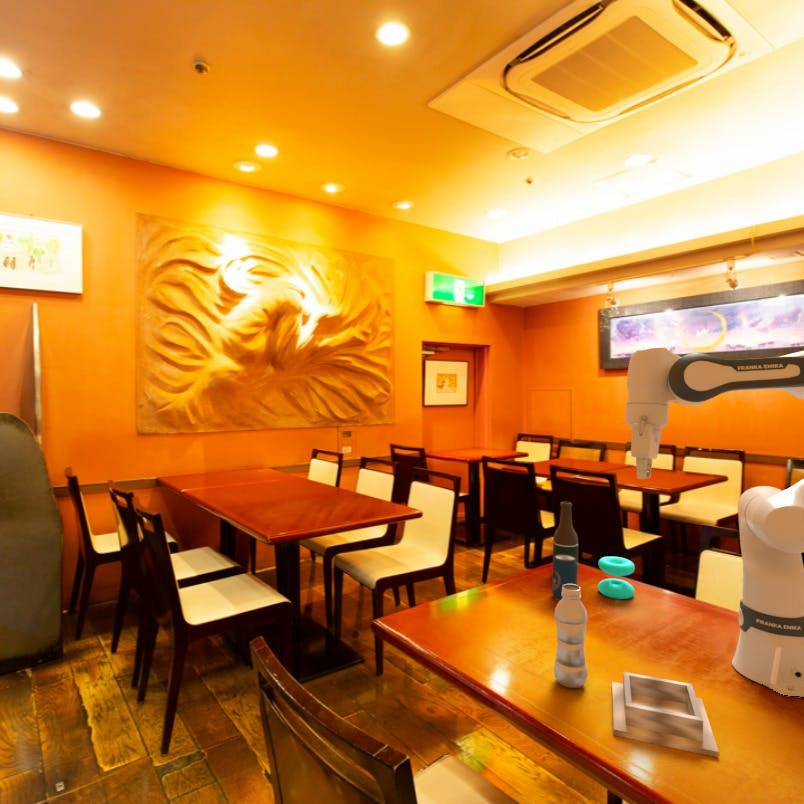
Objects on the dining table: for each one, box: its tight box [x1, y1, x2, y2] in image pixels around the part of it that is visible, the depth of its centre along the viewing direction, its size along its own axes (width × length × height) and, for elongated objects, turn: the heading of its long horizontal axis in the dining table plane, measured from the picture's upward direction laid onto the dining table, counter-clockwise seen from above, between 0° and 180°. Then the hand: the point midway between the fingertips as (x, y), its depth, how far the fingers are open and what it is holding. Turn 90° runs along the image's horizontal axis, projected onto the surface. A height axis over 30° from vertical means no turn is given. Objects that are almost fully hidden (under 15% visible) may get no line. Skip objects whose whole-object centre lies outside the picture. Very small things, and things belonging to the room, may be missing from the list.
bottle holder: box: [611, 671, 720, 758], centre depth 97 cm, size 16×16×4 cm
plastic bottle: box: [553, 584, 588, 689], centre depth 108 cm, size 6×7×20 cm
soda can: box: [551, 554, 579, 602], centre depth 152 cm, size 7×7×12 cm
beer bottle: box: [552, 501, 579, 577], centre depth 170 cm, size 8×8×24 cm
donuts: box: [597, 556, 636, 600], centre depth 156 cm, size 10×10×10 cm
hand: (643, 478), depth 119 cm, fingers open, 8 cm apart
